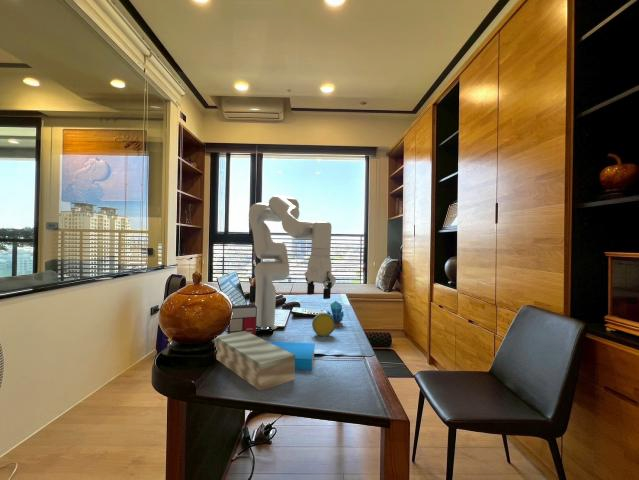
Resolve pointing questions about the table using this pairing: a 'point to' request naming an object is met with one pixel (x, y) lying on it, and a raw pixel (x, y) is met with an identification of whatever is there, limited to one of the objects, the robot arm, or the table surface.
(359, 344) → the table surface
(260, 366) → the striped cream block
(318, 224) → the robot arm
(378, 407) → the table surface
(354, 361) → the table surface
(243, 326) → the gray red box
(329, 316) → the decorative artifact
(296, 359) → the book
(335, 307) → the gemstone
